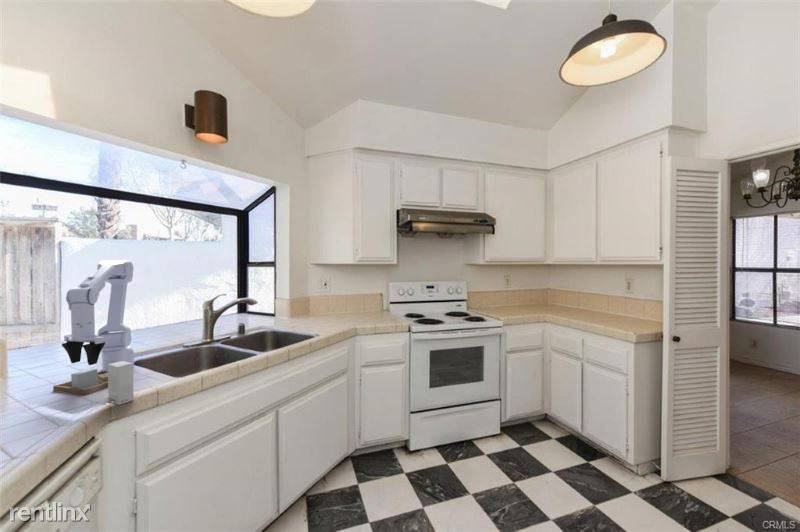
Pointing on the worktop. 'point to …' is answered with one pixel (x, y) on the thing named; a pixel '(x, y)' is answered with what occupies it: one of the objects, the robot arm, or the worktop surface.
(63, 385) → the frame
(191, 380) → the worktop surface
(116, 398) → the skincare box
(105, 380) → the offcut short
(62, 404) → the worktop surface
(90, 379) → the pale grey rectangular prism
